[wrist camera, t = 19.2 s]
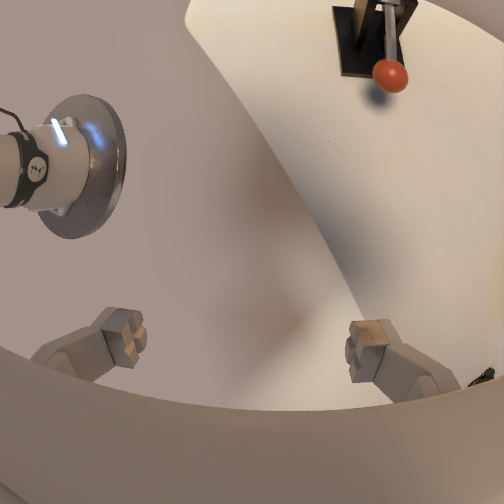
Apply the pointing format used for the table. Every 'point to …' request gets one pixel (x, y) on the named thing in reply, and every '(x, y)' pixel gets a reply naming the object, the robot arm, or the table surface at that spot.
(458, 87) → the table surface
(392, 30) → the faucet lever
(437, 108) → the table surface
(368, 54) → the bracket
